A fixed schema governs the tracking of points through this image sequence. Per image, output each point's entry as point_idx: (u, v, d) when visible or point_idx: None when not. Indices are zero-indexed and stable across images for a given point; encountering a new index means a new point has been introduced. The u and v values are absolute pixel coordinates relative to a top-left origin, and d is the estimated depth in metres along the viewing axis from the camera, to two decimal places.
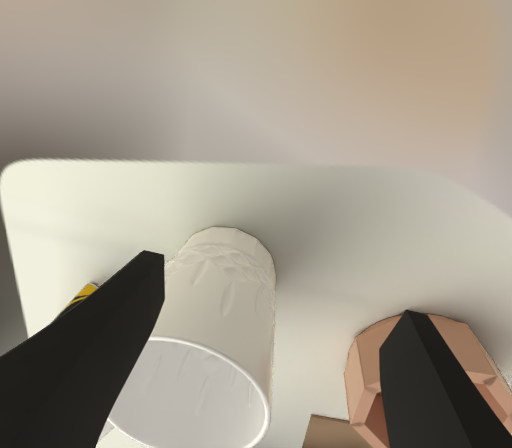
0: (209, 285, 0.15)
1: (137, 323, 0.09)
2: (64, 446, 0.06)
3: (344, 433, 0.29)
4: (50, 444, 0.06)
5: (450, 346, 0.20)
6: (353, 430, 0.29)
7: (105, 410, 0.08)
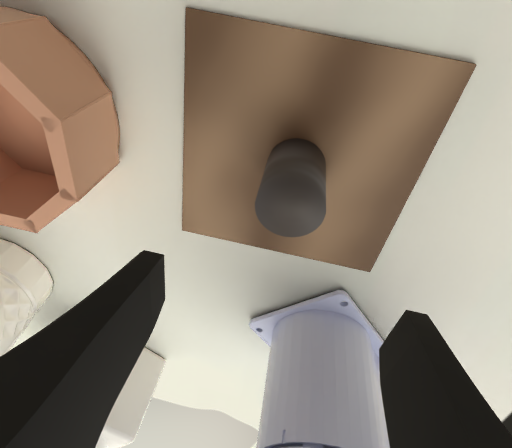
0: None
1: (137, 323, 0.09)
2: (64, 446, 0.06)
3: (207, 194, 0.19)
4: (50, 444, 0.06)
5: None
6: (197, 182, 0.19)
7: (105, 410, 0.08)
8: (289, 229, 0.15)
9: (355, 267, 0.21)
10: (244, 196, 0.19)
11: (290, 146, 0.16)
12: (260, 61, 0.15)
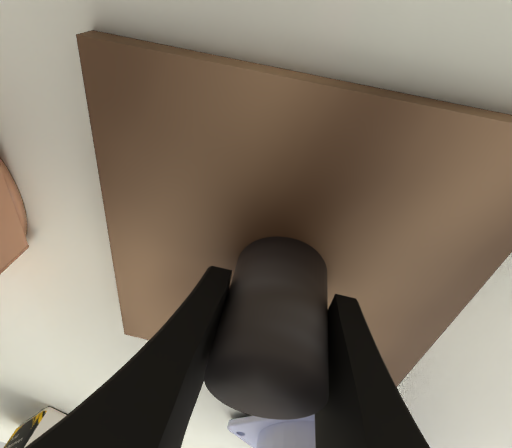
0: None
1: (211, 340, 0.09)
2: None
3: (153, 297, 0.13)
4: None
5: None
6: (136, 282, 0.13)
7: (184, 429, 0.08)
8: (265, 410, 0.09)
9: None
10: None
11: (269, 256, 0.10)
12: (215, 125, 0.08)
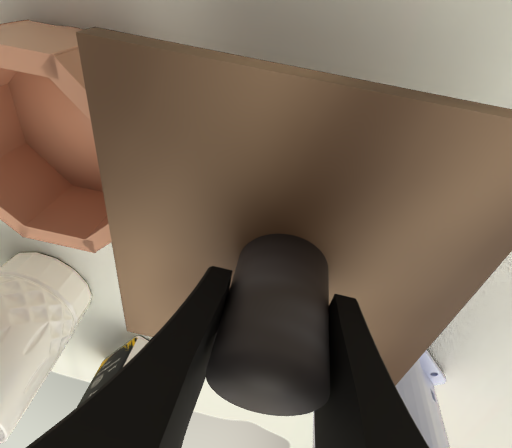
0: None
1: (212, 340, 0.09)
2: None
3: (155, 294, 0.13)
4: None
5: None
6: (138, 280, 0.13)
7: (184, 430, 0.08)
8: (267, 407, 0.09)
9: None
10: None
11: (270, 254, 0.10)
12: (215, 122, 0.08)
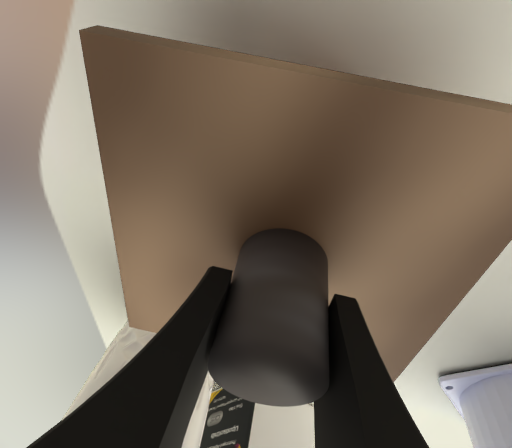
0: None
1: (212, 341, 0.09)
2: None
3: (157, 289, 0.13)
4: None
5: None
6: (140, 275, 0.13)
7: (184, 430, 0.08)
8: (268, 397, 0.09)
9: None
10: None
11: (270, 248, 0.10)
12: (216, 118, 0.09)
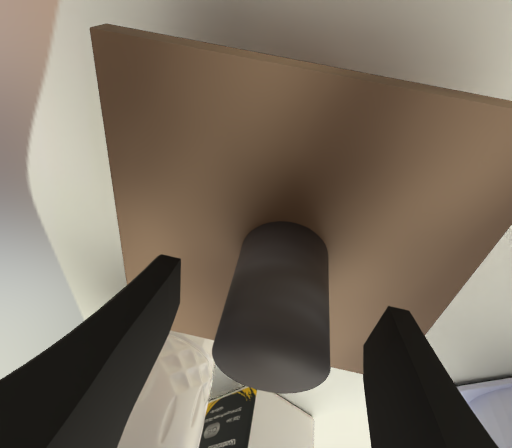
0: None
1: (155, 327, 0.09)
2: None
3: None
4: None
5: None
6: None
7: (124, 415, 0.08)
8: (270, 384, 0.09)
9: None
10: (212, 288, 0.13)
11: (273, 239, 0.10)
12: (220, 112, 0.09)
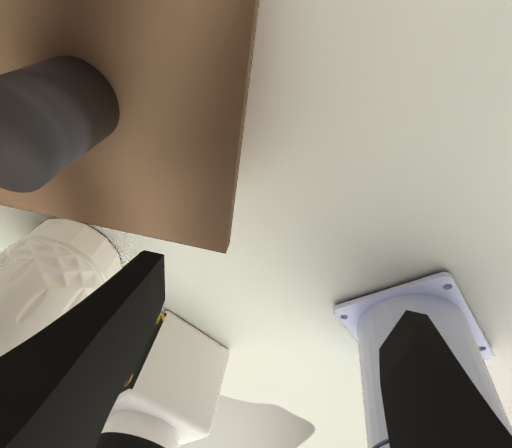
0: None
1: (137, 323, 0.09)
2: (64, 446, 0.06)
3: None
4: (50, 444, 0.06)
5: None
6: None
7: (104, 410, 0.08)
8: (14, 179, 0.10)
9: (207, 248, 0.16)
10: None
11: (39, 62, 0.11)
12: None
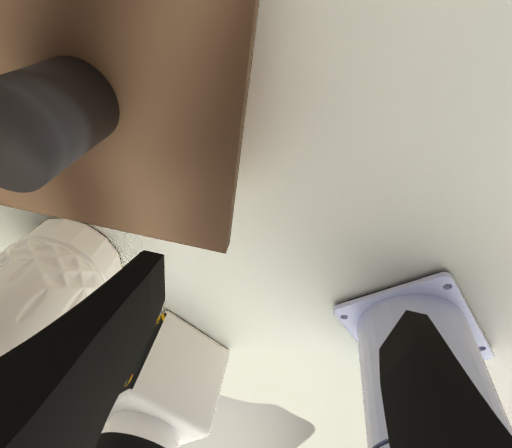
0: None
1: (137, 323, 0.09)
2: (64, 446, 0.06)
3: None
4: (50, 444, 0.06)
5: None
6: None
7: (104, 410, 0.08)
8: (14, 179, 0.10)
9: (207, 248, 0.16)
10: None
11: (39, 62, 0.11)
12: None
